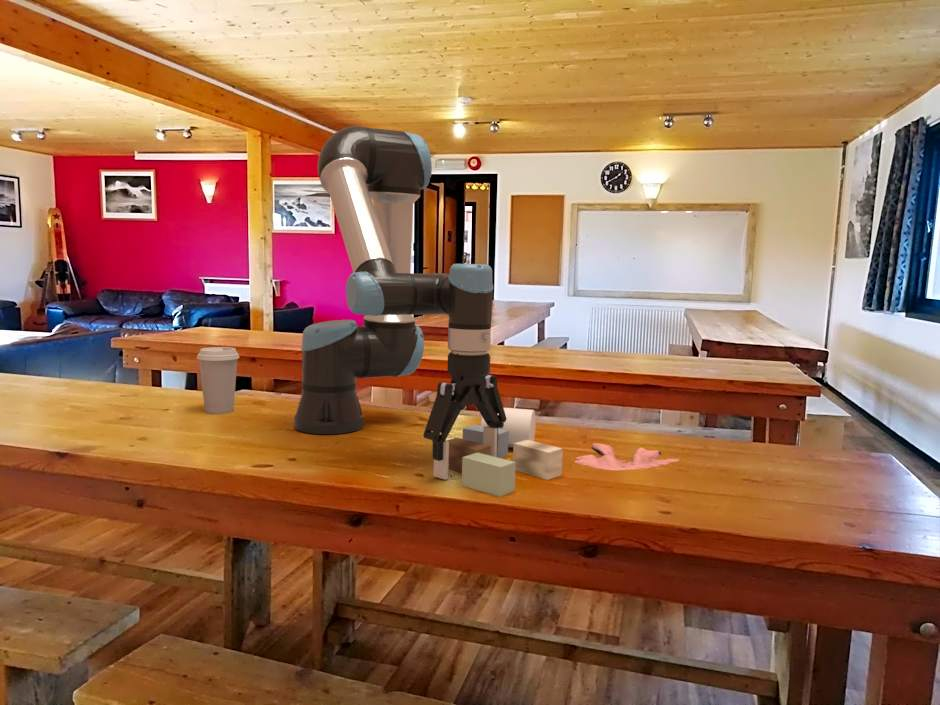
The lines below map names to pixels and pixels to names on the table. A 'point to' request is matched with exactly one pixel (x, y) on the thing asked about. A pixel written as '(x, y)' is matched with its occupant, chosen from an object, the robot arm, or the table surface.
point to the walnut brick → (464, 452)
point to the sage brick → (488, 474)
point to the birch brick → (538, 459)
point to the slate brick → (476, 435)
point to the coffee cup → (218, 378)
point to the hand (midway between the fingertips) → (466, 469)
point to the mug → (518, 425)
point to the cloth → (609, 461)
